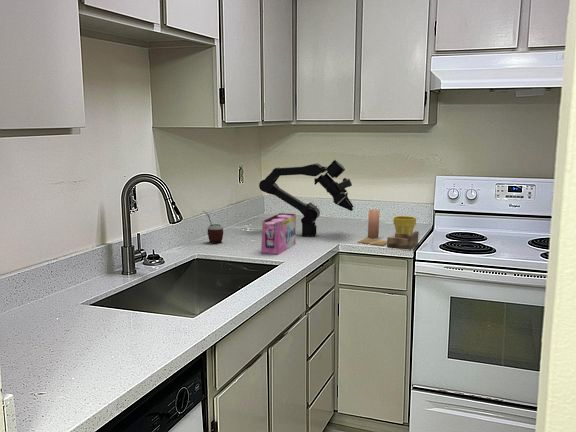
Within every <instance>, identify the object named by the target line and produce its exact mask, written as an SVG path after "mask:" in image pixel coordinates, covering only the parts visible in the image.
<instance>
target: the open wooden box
mask: <svg viewBox="0 0 576 432" xmlns="http://www.w3.org/2000/svg"><path fill="white" fill-rule="evenodd" d="M419 234H420V233H419V231H416V230H415V231H413V233H412V234H404V233H396V232H395V233H394V237H393V236H392V237H391V236H387V240H386V241H387V245H386V247H387V248H390V249H398V250H399V249H401V250H408V251H410V250H413V249H414V248H415V247H417V246H418V245H419Z"/></svg>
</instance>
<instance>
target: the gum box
mask: <svg viewBox="0 0 576 432" xmlns="http://www.w3.org/2000/svg"><path fill="white" fill-rule="evenodd" d="M296 215H297V214H296V213H286V212H279V213H277V214H275V215H273V216H271V217H270V216H269V217H267V218H266V219H264V220H261V221H262V224H261V225H262V226H261V251H260V252H261V254H271V255H281V254H282V253H283V252H285V251H286V250H288V249H289V248H291V247H293V246H294V245H296V242H297V240H296V239H297V237H296V236H297V235H296V232H297V231H296V229H297V227H296V223H297V221H296V219H297V216H296Z"/></svg>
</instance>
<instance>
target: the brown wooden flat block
mask: <svg viewBox="0 0 576 432" xmlns="http://www.w3.org/2000/svg"><path fill="white" fill-rule="evenodd" d="M360 243H362V245H368V244H370V246H377V247H384V246H387V245H386V244H387V240H385V239H379V238H376V239H372V238H368V237H365V238H363V239H360V240H358V241H357V244H360Z"/></svg>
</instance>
